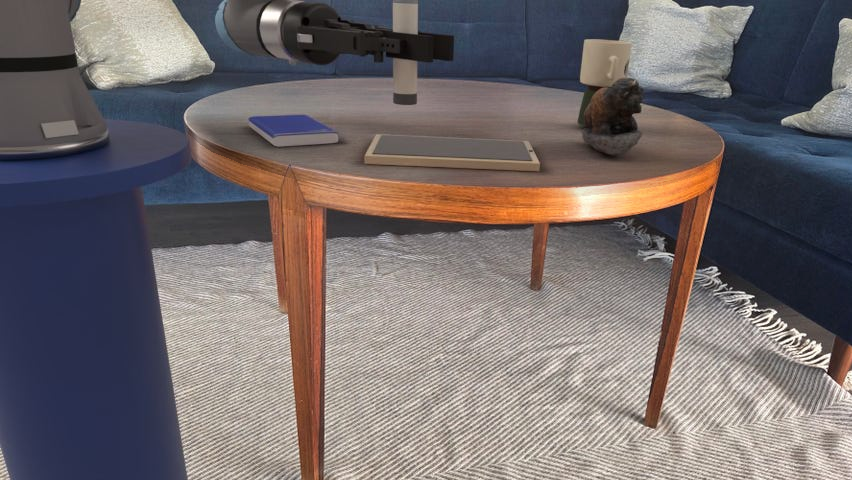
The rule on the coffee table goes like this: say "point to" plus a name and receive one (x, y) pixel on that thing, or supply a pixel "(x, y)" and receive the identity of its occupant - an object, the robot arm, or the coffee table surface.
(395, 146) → the tablet
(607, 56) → the character mug
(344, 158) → the coffee table surface
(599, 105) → the bison figurine
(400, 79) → the stylus
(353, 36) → the robot arm
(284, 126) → the blue book
